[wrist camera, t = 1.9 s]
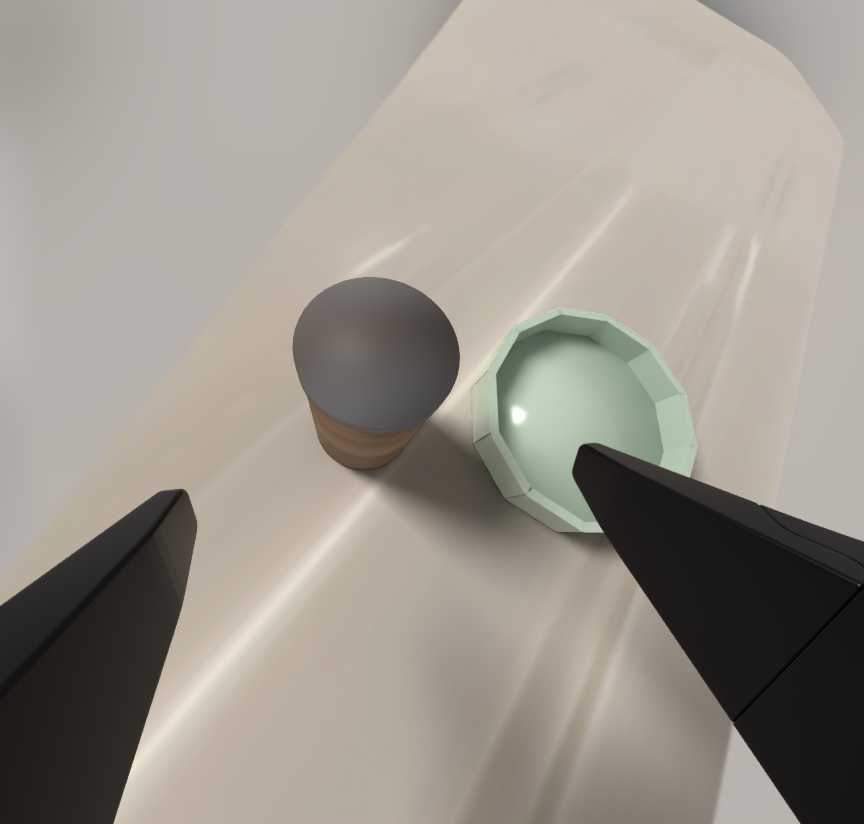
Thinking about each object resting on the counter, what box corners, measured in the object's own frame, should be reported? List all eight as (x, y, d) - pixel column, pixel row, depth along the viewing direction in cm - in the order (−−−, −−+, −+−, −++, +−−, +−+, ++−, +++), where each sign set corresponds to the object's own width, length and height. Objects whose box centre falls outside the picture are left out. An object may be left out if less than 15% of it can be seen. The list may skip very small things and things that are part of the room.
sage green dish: (695, 467, 24) (732, 460, 22) (549, 578, 20) (577, 584, 17) (587, 305, 26) (611, 283, 24) (433, 373, 22) (444, 355, 19)
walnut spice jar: (428, 444, 20) (488, 386, 12) (340, 489, 19) (339, 458, 10) (385, 365, 21) (413, 259, 13) (297, 401, 19) (263, 305, 11)
